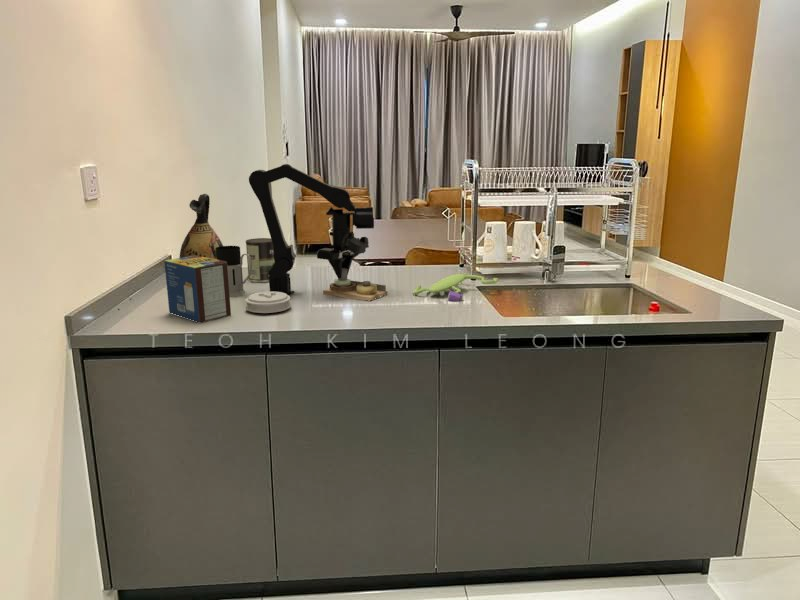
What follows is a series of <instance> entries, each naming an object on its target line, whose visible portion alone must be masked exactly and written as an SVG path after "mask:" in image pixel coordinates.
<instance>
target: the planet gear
mask: <svg viewBox="0 0 800 600" xmlns="http://www.w3.org/2000/svg"><path fill="white" fill-rule="evenodd" d="M351 281H352V280H351V279H349V278H348V276H347V269H346V268H342V274H341V278H338V277H337V278H335V279H334V281H333V283H334V284H335V285H339V286H348V285H351Z"/></svg>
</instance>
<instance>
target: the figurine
mask: <svg viewBox="0 0 800 600" xmlns="http://www.w3.org/2000/svg"><path fill="white" fill-rule="evenodd" d="M467 279H470V280H481V281H480V282H481V284H483V285H494V284H495V285H496V284H497V283H498V281H499V278H497V277H493V279H492V280H485V277H484V276H481V275H475V274H474V275H473V274H471V275H470V274H468V273H466V272H464V273H457V274H452V275H448V276H446V277H444V278H442V279H440V280H438V281H437V282H435V283H433V284H432V285H431V286H430V287H429V288H427V287H424V286H423V287H422V286H421V285H417V287H416V288H415V289H414V290H413V292H412V294H413V295H414V294H415V295H414V296H417V295H420V294H421V293H423V292H426V291H428V292H429V293H431V294H433V295H435V296H437V295H438V294H439V295H440V296H441V297H444V296H445V293H446V291H447V290H449V292H448V294H447V300H448V301H450V302H458V301H462V298H463V296H464V294H463V293H462V289H460V288H459V287H455V286H457V285H459V284H462V283H463V282H464V281H465V280H467Z"/></svg>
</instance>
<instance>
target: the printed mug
mask: <svg viewBox="0 0 800 600" xmlns="http://www.w3.org/2000/svg"><path fill="white" fill-rule="evenodd" d="M245 248H246V254H248V255H250V257H251V259H252V271H251V274H250V277H249V278H248V279H247V280H248V281H249V282H251V283H252V282H253V283H269V276H270V275H269V273H268V271H269V270H270V268H271V266H272V265H273V264H274V263H275V261H274V251H273V243H272V239H271V237H269V238H268V237H263V238H262V237H259V238H258V237H257V238H249V239H246V240H245ZM246 263H247V275H248V274H249V271H250V259H249V257H248V256H247V255H246Z"/></svg>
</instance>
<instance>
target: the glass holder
mask: <svg viewBox="0 0 800 600" xmlns="http://www.w3.org/2000/svg"><path fill="white" fill-rule="evenodd" d="M244 256H246V257H247V256H248V257H249V259H250V271H249V274H248V273H247V276H246V277H245V279H243V260H244V259H243V258H244ZM216 260H222V261H227V269H228V281H229V294H230V298H234V297H233V296H235V297H239V296H243V295H245V294H246V291H245V289H244V284H245V283H246V282H247V280H248V278H249V277H250V274H251V271H252V259H251V257H250V255H248V254H247V253H243V254H241V246H238V245H223V246H220V247H216Z"/></svg>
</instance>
